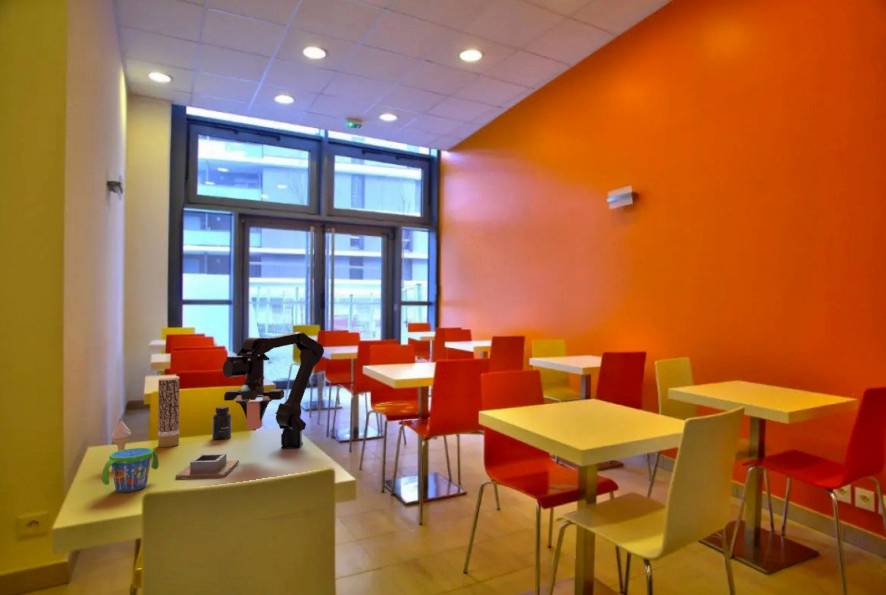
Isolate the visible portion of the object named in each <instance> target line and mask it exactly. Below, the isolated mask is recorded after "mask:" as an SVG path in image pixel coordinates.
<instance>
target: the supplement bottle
mask: <svg viewBox="0 0 886 595" xmlns="http://www.w3.org/2000/svg"><path fill="white" fill-rule="evenodd" d="M229 412H230V407H229V406H227V405H222V406H221V405H220V406H216V407H215V412H214V413H215V414H213V416H212V422H211V423H212V429H211V430H212V431H211V433H212V434H211V437H212V440H216V441H222V440H228V439H230V438H231V437H232V419H233V418H232V414H231V413H229Z"/></svg>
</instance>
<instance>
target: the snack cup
mask: <svg viewBox="0 0 886 595" xmlns="http://www.w3.org/2000/svg"><path fill="white" fill-rule="evenodd" d="M151 459H152V462H151ZM159 463H160V462H159V457H158V454H157V452H156V451H155V450H153V449H152V448H150V447H149V448H148V447H134V448H127V449H125V450H121V451H118V450H117V451H114V452H112V453H111V454H110V455H109V459H108V460H107V461H106V463H105V465H104V467H103V470H102V473H101V483H102V484H104V485H106V486H108V485H110V479H109V478H110V468H111V470H112V476H113V483H114V488H115V490H116V491H117V492H118V493H128V492H129V493H130V492H135V491H139V490H140V489H143V488H146V487H147V483H148V481H149V480H148V478H149V474H150V473H149V472H150V468H152V469H153V470H157V469H158V468H159V466H160V464H159ZM150 464H151V465H150ZM145 486H146V487H145Z"/></svg>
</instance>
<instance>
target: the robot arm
mask: <svg viewBox="0 0 886 595" xmlns="http://www.w3.org/2000/svg"><path fill="white" fill-rule="evenodd" d="M242 344H243V345H242V346H241V347H240V349H239V351H238V353H237V354H236V356H226V360H225V361H224V363H223V366H222V374H223V376H224V377H225V378H227V379H229V378H237V377H244V376H245V378H244V384H243V385H242V387H241V388H240V389H229V390H227V391H225V392H224V395H223V401H226V402H227V401H235V403H236V404H239V405H240V406H241V409H242V410H243V414H244V416H245V418H246V420H247V402H248V401H250V400H257V398H262V399H260V400H261V401H260V402H261V410H260V420H262V421H263V418H264V415H265V413H266V409H267V407H268V406H269V403H271V402H272V401H274V400H275V401H279V400H280V401H281V400H282V399H283V398H285V390H284V389H282V388H277V389H276V388H275V389H274V388H273V389H270V390H269V391H265V387H264V384H265V383H264V382H265V376H264V375H265V374H264V371H265V369H264V367H265V364H264V363H265V362H264V361H270V357H269V356H267V355H266V353H268V352H270V351H272V350H273V349H277V348H280V347H286V346H291V345H295V347H296V349H298V350H299V359H300V364H299V367H298V370H297V373H296V376H295V377H294V381H293V383H292V386H291V389H290V392H289V395H288V397H287V399H286V400H285V402H284V403H279V404H278V407H277V411H276V412H275V420H276V423H277V424H278V427H279V429H282V433H281V434H280V438H281V439H280V445H281V449H299V448H301V447H302V445H303V444H304V442H303V439H302V438H303V430H304V431H305V429H306V427H307V424H306V422H305V421H304V420H303V419H302V418H301V416H302V406H301V403H302V402H303V401H302V400H303V398H304V395H305V393H306V389H307V387H308V384H309V381H310V378H311V375H312V373H313V370H314V368H315V366H317V364H319V363H320V362H321V359H322V357H323V355H324V354H325V349H324V346H323V344H321V343H319V342H317V341H316V340H314V339H313V338H312V337H310V336H308V335H307V334H306V333H305V332H303V331H294V332H292V333H285V334H282V335H280V334H279V335H275V336H271V337H252V336H251V337H248V338H246V339H245V340H244V342H243V343H242ZM235 399H236V400H235Z"/></svg>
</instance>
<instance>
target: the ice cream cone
mask: <svg viewBox="0 0 886 595" xmlns="http://www.w3.org/2000/svg"><path fill="white" fill-rule="evenodd" d="M110 436H111V438H112V440H113V443H114V444H115V445H116V446H117V451H121V450H125V448H126V445H127V443H128V442H129V440H130V437H131V436H132V431H131V429H129V428H128V426H127V425H126V424H125V422H124V421H123V419H120V421H119V423H118V424H117V426H116V428H115V429H114V430H113V431H112V433H111V434H110Z"/></svg>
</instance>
